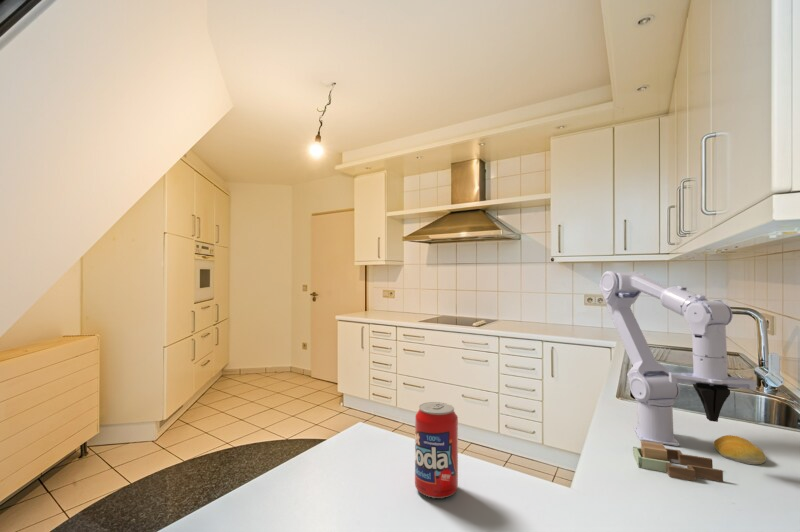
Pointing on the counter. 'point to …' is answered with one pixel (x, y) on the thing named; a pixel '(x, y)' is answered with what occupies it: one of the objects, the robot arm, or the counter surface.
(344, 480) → the counter surface
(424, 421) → the soda can
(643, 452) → the oak block
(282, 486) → the counter surface
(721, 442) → the bread roll
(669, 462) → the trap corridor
